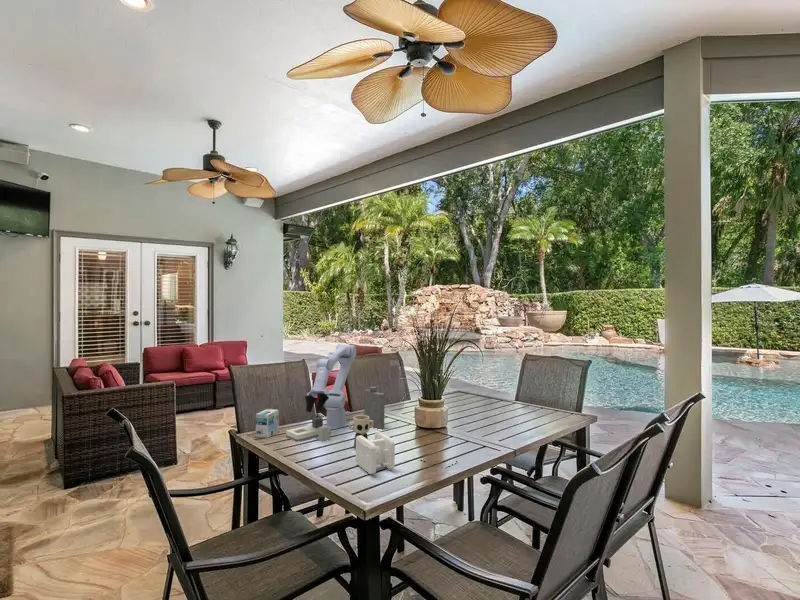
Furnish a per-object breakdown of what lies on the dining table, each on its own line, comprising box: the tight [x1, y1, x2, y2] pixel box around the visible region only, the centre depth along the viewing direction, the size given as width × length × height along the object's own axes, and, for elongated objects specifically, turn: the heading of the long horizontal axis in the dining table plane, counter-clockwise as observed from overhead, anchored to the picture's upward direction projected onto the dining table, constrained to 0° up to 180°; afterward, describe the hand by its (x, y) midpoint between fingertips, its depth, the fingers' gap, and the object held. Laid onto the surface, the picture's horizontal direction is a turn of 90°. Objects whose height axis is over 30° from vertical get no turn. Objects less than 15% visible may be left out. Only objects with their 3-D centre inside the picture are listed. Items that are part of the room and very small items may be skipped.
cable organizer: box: [355, 431, 396, 475], centre depth 164 cm, size 15×11×12 cm
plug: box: [317, 426, 331, 443], centre depth 197 cm, size 4×3×6 cm
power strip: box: [285, 424, 332, 443], centre depth 204 cm, size 18×10×3 cm, turn 135°
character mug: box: [348, 414, 373, 448], centre depth 188 cm, size 11×7×13 cm, turn 111°
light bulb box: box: [255, 408, 280, 439], centre depth 205 cm, size 11×7×11 cm, turn 168°
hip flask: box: [363, 386, 385, 430], centre depth 220 cm, size 16×4×20 cm, turn 37°
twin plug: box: [311, 416, 324, 428], centre depth 208 cm, size 4×3×4 cm
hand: (313, 411), depth 197 cm, fingers open, 7 cm apart
